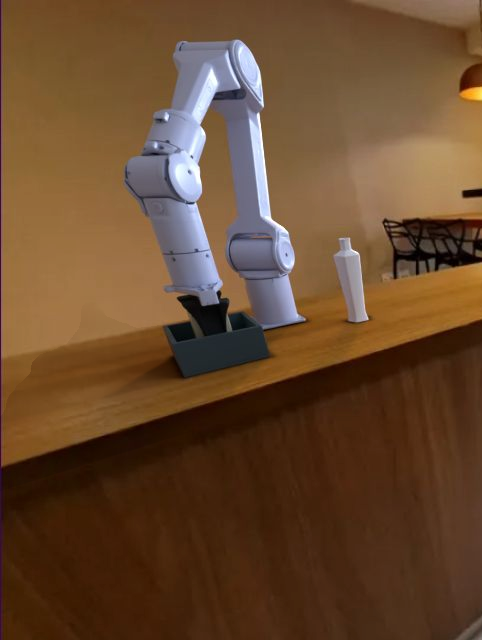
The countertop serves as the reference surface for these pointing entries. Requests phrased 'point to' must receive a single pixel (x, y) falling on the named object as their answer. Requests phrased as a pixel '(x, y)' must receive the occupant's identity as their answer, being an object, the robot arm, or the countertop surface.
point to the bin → (217, 345)
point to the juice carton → (198, 330)
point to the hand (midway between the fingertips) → (216, 342)
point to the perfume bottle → (351, 280)
